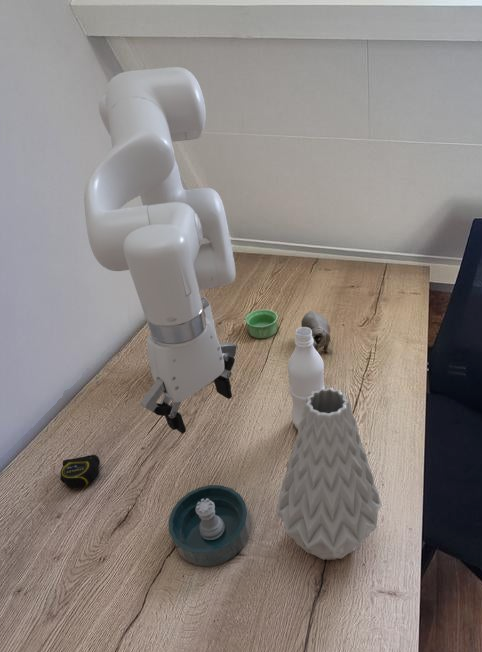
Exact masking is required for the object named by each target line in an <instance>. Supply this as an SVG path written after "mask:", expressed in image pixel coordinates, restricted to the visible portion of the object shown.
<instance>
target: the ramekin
mask: <svg viewBox="0 0 482 652" xmlns="http://www.w3.org/2000/svg"><path fill="white" fill-rule="evenodd" d="M278 316H279V315H278V314H277V313H276V311H274V310H271V309H267V308H266V309H265V308H263V309H261V308H260V309H255V310H253V311H251V312H249V313H248V314H246V315H245V319H244V320H245V324H246V326H247V329H248V330H247V331H248V333H249V335H250V336H251V337H253V338H256V339H267V338H270V337H273V336H274V335H275V334H276V333H277V331H278V319H279V317H278Z"/></svg>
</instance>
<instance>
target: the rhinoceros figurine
mask: <svg viewBox="0 0 482 652" xmlns="http://www.w3.org/2000/svg"><path fill="white" fill-rule="evenodd" d="M300 323H301V327H308V328H310V329H311V330H312V337H313V340H314V343H313V346H314V348H315V349H316V351H317V352H318V351H319V349H321V348H322V347H323V349H322V350H323V351H324V353H325V354H330V353H331V351H330V350H329V345H330V344H329V343H330V342H331V335H330V333H331V327H330V324H329V322H328V320H327V319H326V318H325V317H324V316H323V315H321V314H319V313H317V312H315V311H313V310H312V311H311V310H309V311H308V312H306V313H305V314H304V316H303V317H302V319H301V322H300Z"/></svg>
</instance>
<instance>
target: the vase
mask: <svg viewBox="0 0 482 652" xmlns="http://www.w3.org/2000/svg"><path fill="white" fill-rule="evenodd" d="M381 508H382V503H381V498H380V494H379V491H378V489H377V486H376V484H375V480H374V476H373V473H372V469H371V467H370V464H369V461H368V457H367V453H366V451H365V449H364V447H363V443H362V440H361V437H360V433H359V429H358V424H357V420H356V418H355V416H354V413H353V409H352V405H351V403H350V401H349V400H348V394H346V393H342V391H341V389H334V388H332V386H329V387H327V388H325V389H323V388H320V389H319V390H318V391H312V392H311V396H309V397H306V405H305V407H304V410H303V413H302V419H301V422H300V423H299V426H298V429H297V436H296V439H295V441H294V443H293V445H292V452H291V454H290V456H289V460H288V462H287V464H286V473H285V475H284V478H283V480H282V485H281V488H280V490H279V495H278V501H277V510H276V514H277V516H278V517H279V519H280V520H281V521H282V522H283V525H284V530H285V534H286V536H288V537H289V538H291V539H293V540H294V543H296V544H297V545H298V546H299V547H300V548H302V549H303V551H305V552H306V553H307V554H309V555H310V554H311V555H313V556H315V557H316V558H319V559H321V560H323V561H324V560H327V561H336V560H337V559H340V560H342V559H343V558H344V557H346V556H347V555H349V554H351V553H353V552H354V551H356V550H357V549H358V548H359V547H360V546H361V545H362V543H363V542H365V540H367V538H368V536H369V535H370V534H372V532H374V531H375V530H377V527H378V514H379V513H378V512H379V511H380V510H381Z"/></svg>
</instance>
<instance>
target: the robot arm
mask: <svg viewBox="0 0 482 652" xmlns="http://www.w3.org/2000/svg"><path fill="white" fill-rule="evenodd" d="M98 112H99V116H100V118H101V121H102V123H103V126H104V128H105V130H106V131H107V133H108V135H109V137H110V141H111V147H112V149H110V150H109V151H108V152H107V153H106V154H105V155H104V156H103V158H102V159H101V160H100V161H99V163H98V164H97V165H96V167H95V168H94V170H93V171H92V172H91V174H90V175H89V177H88V179H87V181H86V183H85V188H84V193H83V194H84V195H83V206H84V214H85V225H86V226H85V227H86V232H87V238H88V242H89V246H90V249H91V253H92V254H93V256H94V258H95V259H96V261H97V262H98V264H100V266H102V267H103V268H105V269H106V270H109V271H111V272H123V271H124V272H125V271H129V273H130V276H131V279H132V282H133V285H134V288H135V290H136V294H137V296H138V300H139V303H140V306H141V309H142V311H143V314H144V317H145V320H146V321H145V322H146V323H147V327H148V330H149V332H150V335H149V336H148V337H146V352H147V358H148V364H149V368H150V372H151V377H152V380H153V385H152V386H151V387H150V388H149V389H148V391H147V392H146V394H145V395H144V396H143V397H142V399H141V400H140V405H141V406H143V408H145V409H146V410H148V411H150V412H152V413H153V414H155V415H156V416H161V417H164V418H165V420H166V423H167V425H168V427H169V428H170V429H171V430H172V431H177V432H179V433H180V434H182V435H184V434H185V433H186V432H187V428H186V425H185V423H184V420H183V416H182V414H181V413H180V412H178V411H179V410H180V409H179V408H180V406H181V403H182V402H183V401H186V400H187V399H189V398H190V397H192V396H193V395H195V394H196V393H198V392H199V391H200V390H202V389H203V388H205V387H206V386H208V385H210V384H211V383H212V382H214V387H215V390H216V393H217V394H219V395H221V396H223V397H224V398H226V399H228V400H230V399H231V398H233V393H232V390H231V389H232V386H231V381H230V380H231V379H230V378H231V377H232V374H233V373H232V369H233V366H234V364H235V363H236V359H235V357H236V352H237V345H236V344H235V343H232V342H231V341H230V342H229V341H228V342H220V341H219V339H218V334H217V329H216V324H215V320H214V315H213V311H212V306H211V304H210V301H209V300H208V299H207V297H206V296H205V295H204V294H203V293H201V291H204V290H211V289H216V288H222V287H226V286H230V285H232V284H233V283H234V282H235V280H236V276H237V275H236V274H237V273H236V263H235V258H234V252H233V246H232V240H231V236H230V231H229V230H230V229H229V225H228V219H227V214H226V210H225V206H224V203H223V201H222V198H221V196H220V194H219V192H217V191H216V189H214V188H210V187H198V188H196V187H195V188H189V189H185V188H184V187H183V182H182V178H181V174H180V168H179V165H178V163H177V160H176V154H175V150H174V145H173V143H176V142H182V141H183V142H185V141H191V140H192V141H193V140H197V139H199V138H201V137H202V135H203V134H204V131H205V126H206V120H207V111H206V103H205V98H204V94H203V91H202V89H201V86H200V84H199V81H198V79H197V78H196V76H195V75H194V74H193V73H192V72H191V71H190V70H188V69H187V68H185V67H180V66H171V67H170V66H169V67H159V68H147V69H135V70H128V71H127V70H126V71H124V72H123V71H122V72H119V73H117V74H116V75H114V76H113V77H112V78H111V79H110V80H109V82H108V83H107V85H106V89H105V94H104V95H102V97H101V98H100V99H99V102H98ZM138 197H140V199H141V203H142V205H138V206H131V207H130V206H129V207H124V206H125V205H127V203H129V202H131V201H132V200H134V199H137V198H138ZM122 207H124V208H122ZM204 239H207V240H208V241H209V242H206V243H203V241H204ZM160 397H161V399H160ZM159 399H160V402H159V403H158V402H157V401H158V400H159Z"/></svg>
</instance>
